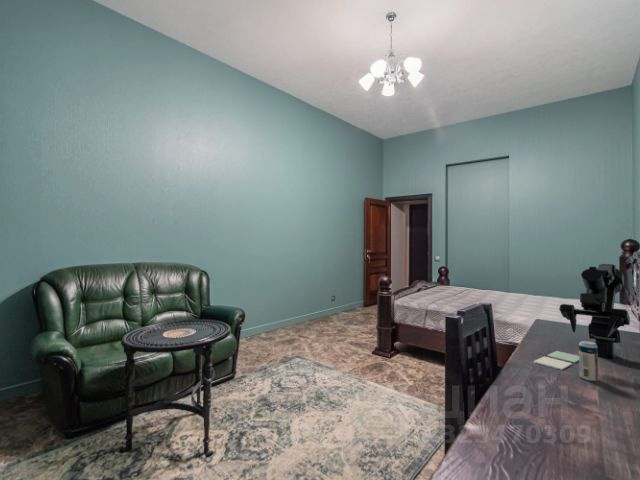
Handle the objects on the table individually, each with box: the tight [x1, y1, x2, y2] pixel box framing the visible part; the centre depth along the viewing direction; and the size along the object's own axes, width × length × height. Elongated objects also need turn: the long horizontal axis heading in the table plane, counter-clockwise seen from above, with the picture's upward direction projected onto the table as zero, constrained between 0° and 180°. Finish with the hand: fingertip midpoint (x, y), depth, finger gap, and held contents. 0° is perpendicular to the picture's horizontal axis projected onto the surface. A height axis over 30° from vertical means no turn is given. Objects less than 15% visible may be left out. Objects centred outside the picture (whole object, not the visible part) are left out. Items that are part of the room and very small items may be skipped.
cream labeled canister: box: [578, 340, 599, 382], centre depth 105 cm, size 5×5×12 cm
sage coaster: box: [546, 350, 579, 364], centre depth 125 cm, size 9×9×1 cm
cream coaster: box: [533, 356, 573, 371], centre depth 118 cm, size 9×9×1 cm
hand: (589, 334), depth 111 cm, fingers open, 9 cm apart
